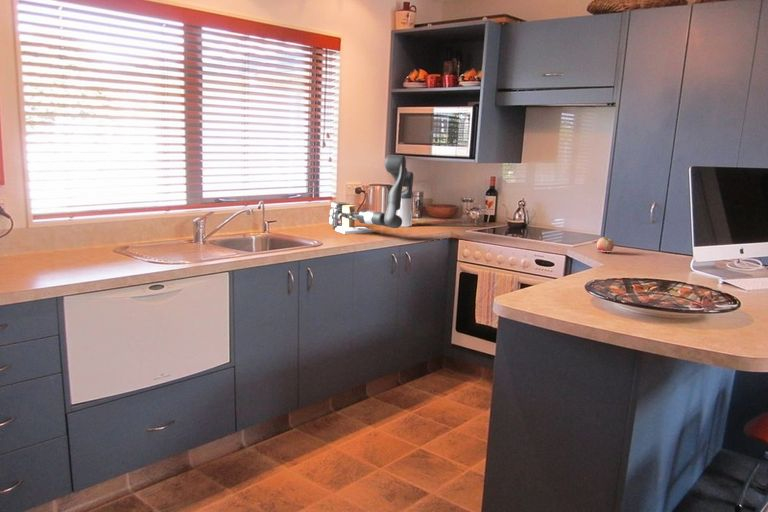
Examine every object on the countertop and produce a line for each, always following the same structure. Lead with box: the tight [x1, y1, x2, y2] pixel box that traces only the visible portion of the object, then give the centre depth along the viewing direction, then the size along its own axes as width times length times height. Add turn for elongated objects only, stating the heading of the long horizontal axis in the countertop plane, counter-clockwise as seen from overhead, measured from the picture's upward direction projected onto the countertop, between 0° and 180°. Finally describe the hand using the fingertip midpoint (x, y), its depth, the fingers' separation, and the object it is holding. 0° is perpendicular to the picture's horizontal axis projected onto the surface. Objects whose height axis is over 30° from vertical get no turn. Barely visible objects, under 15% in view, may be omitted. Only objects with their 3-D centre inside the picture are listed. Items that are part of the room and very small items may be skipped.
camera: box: [328, 201, 351, 229], centre depth 354 cm, size 10×10×15 cm
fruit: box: [596, 236, 615, 252], centre depth 314 cm, size 8×8×8 cm
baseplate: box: [334, 226, 374, 235], centre depth 346 cm, size 18×12×2 cm, turn 119°
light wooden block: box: [342, 204, 356, 228], centre depth 343 cm, size 5×5×12 cm
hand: (344, 213), depth 344 cm, fingers closed on light wooden block, 5 cm apart
